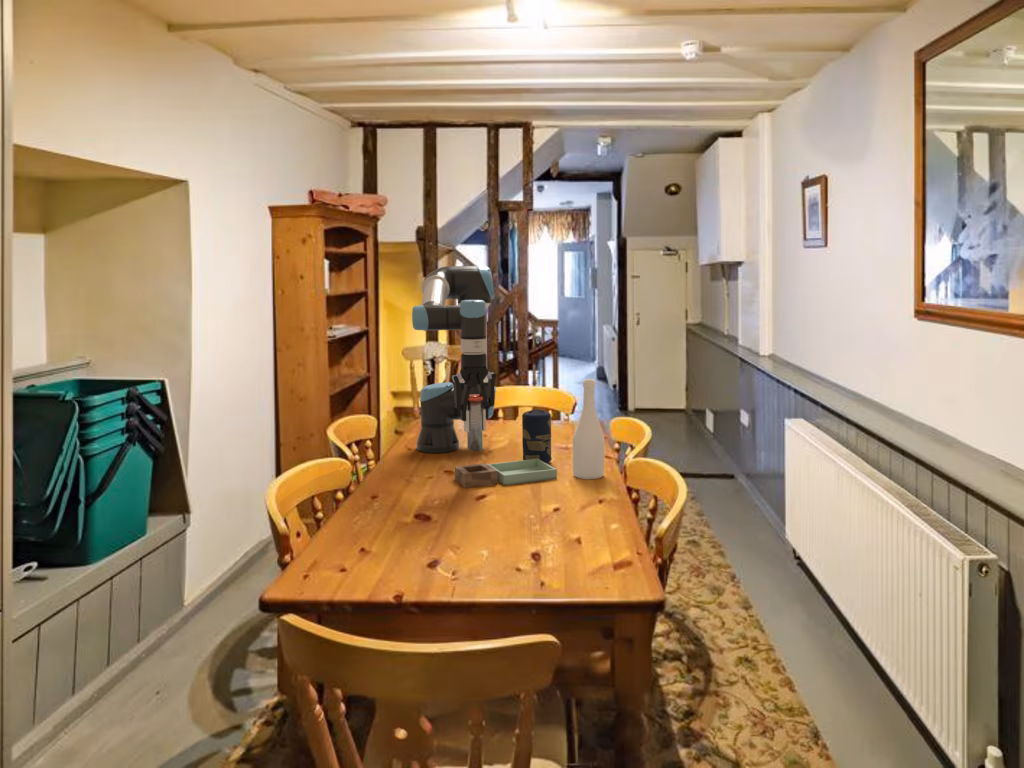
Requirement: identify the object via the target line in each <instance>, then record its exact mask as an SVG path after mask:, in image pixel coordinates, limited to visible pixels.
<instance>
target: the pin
mask: <svg viewBox="0 0 1024 768" xmlns="http://www.w3.org/2000/svg"><path fill="white" fill-rule="evenodd" d="M483 400H484V396H481V395H479V394H471V395H469V397H468V404H467V410H469V432H466V433H467V450H468V451H470V452H479V451H482V450H483V449H484V447H483V446H484V445H483V443H484V441H483V440H484V439H483V438H484V436H483V435H484V434H483V432H484V431H483V430H482V401H483Z"/></svg>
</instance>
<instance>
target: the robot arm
mask: <svg viewBox="0 0 1024 768" xmlns="http://www.w3.org/2000/svg"><path fill="white" fill-rule="evenodd" d="M494 288H495V287H494V282H493V275H492V271H491V268H490V267H489V266H486V265H446V266H442V267H439V268H437V269H434V270H433V271H431V272H430V273H428V274H427V275H426V276H425V277H424V279H423V281H422V284H421V294H422V299H421V302H420V303H421V304H420V305H414V306H413V307H412V310H411V318H412V319H411V321H412V322H411V324H412V328H413V329H414V330H415V331H424V332H427V331H460V352H461V354H460V370H459V373H457V374H452V375H451V380H452V382H449V381H447V382H437V383H432V384H428V385H425V386H424V387H422V388H421V389H420V396H419V398H420V399H419V402H420V431H419V434H418V437H417V441H416V450H417V451H419V452H422V453H429V454H430V453H431V454H444V453H450V452H454V451H457V450H459V449H460V441H459V438H458V436H457V435H458V434H457V432H456V428H455V424H454V420H460V421H462V422H463V431H464V432H466V433H467V432H469V410H467V404H468V397H469V395H471V394H479V395H481V396H484V400H483V401H482V430H483V432H486V431H487V420H489V419H491V418H492V416H493V415H494V409H495V403H496V402H495V401H496V392H497V391H496V390H497V388H496V384H495V381H496V378H497V373H495V372H491V371H489V370H488V337H487V336H488V333H487V332H488V329H487V327H488V326H487V320H488V319H487V318H488V317H487V310H488V307H490V305H491V304H492V303H491V300H495V291H494V290H495V289H494ZM446 300H456V301H457V304H456V305H455V304H452V305H451V304H450V305H449V304H448V305H446Z"/></svg>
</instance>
